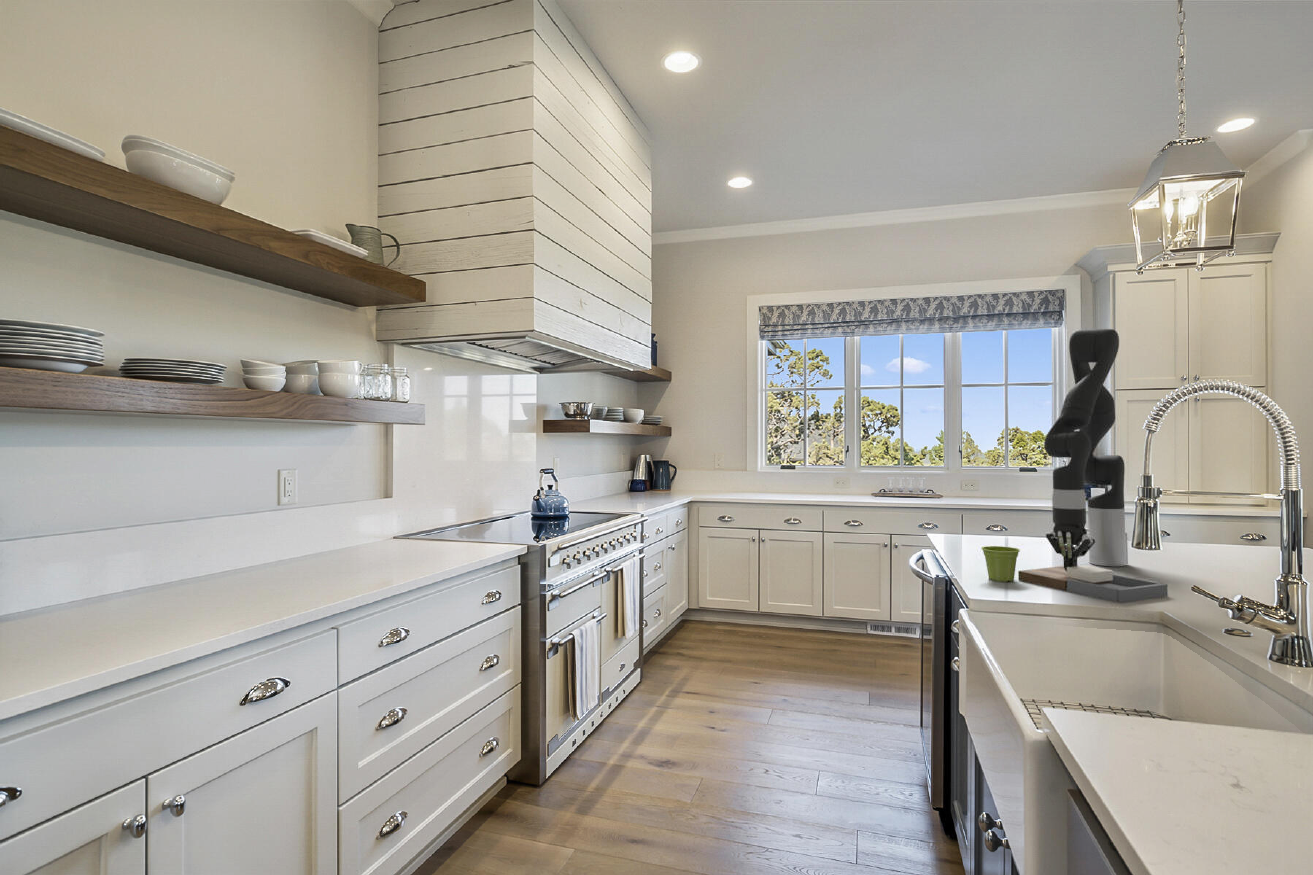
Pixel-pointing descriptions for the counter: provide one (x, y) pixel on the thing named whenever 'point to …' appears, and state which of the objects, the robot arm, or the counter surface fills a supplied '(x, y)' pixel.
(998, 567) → the plant pot
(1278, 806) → the counter surface
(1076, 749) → the counter surface
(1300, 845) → the counter surface
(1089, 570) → the tile
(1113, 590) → the tray
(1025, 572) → the brown square board
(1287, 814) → the counter surface
